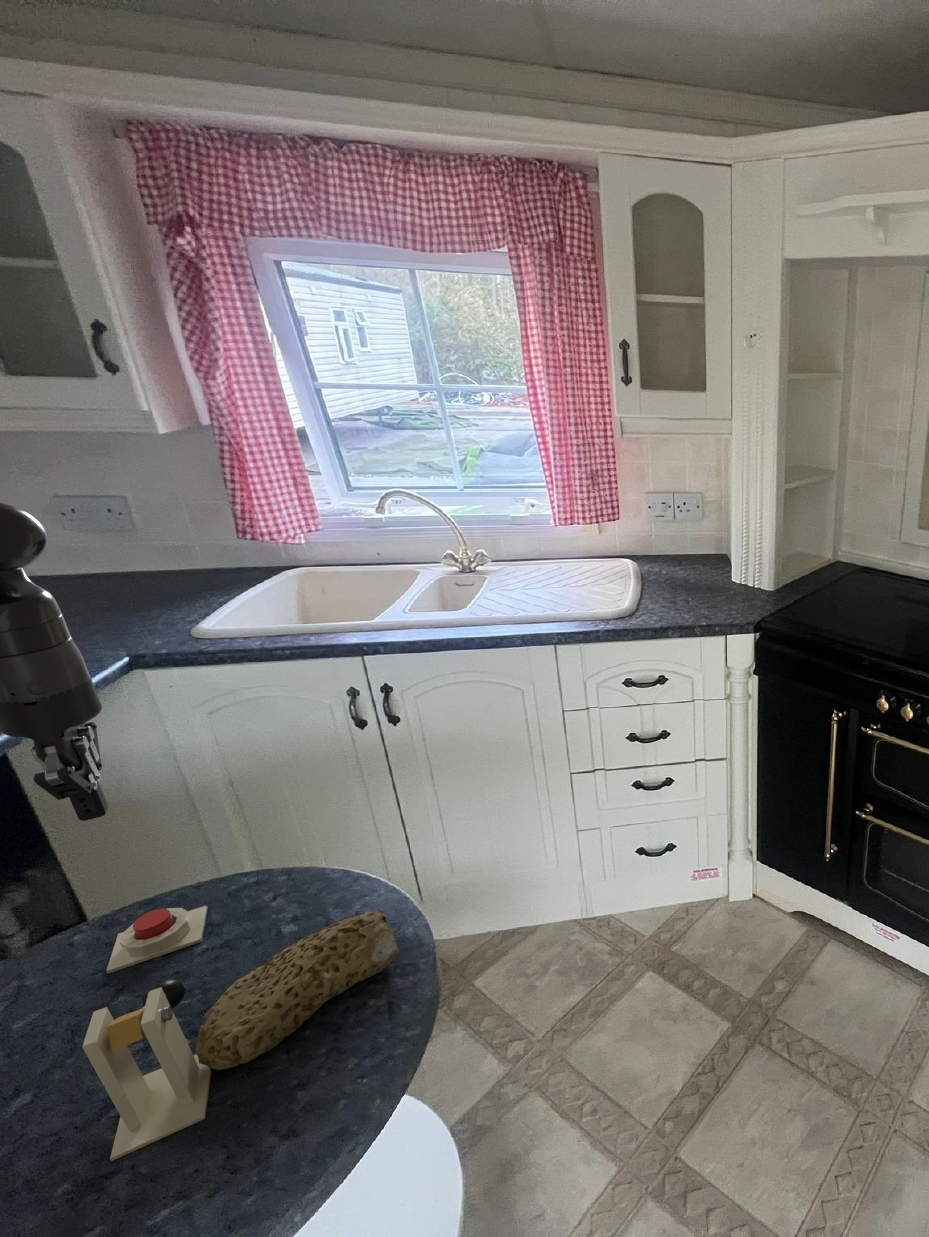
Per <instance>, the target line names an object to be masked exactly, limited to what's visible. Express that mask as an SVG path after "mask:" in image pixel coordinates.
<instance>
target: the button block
mask: <svg viewBox="0 0 929 1237" xmlns="http://www.w3.org/2000/svg"><path fill="white" fill-rule="evenodd" d="M208 908H209V907H208V905H203V906H200V907H198V908H193V909H191V910H186V909H184V908H183V907H173V908H170V907H169V908H167V909H168V910H169V911H170V913H171V915H172V917H173V920H174V924H173V926H172V927H171V928H170V929H169V930H167V931H165V932H164V933H162V934H160V935H158V936H155V937H152V938H149V939H146V940H141V939H138V938H137V936H136V934H135V931H134V929H133V924H134V922H133V923H132V924H131V925H130V926H129V927H128V928H126V930H125V931H122V932H119V933H117V935H116V936H117V937H116V939H115V942H114V946H113V949H112V952H111V954H110V958H109V961H108V964H107V967H106V970H105V971H106V974H107V975H108V974H112V973H114V972H117V971H121V970H123V969H126V968H128V967H132V966H135V965H138V964H140V963H143V962H146V961H149V960H152V959H156V958H158V957H160V956H164V955H167V954H169V953H172V952H176V951H178V950H181V949H185V948H187V947H191V946H193V945H196V944H198V943H201V942H202V941H203V936H204V931H205V926H206V920H207V914H208Z"/></svg>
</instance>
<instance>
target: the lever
mask: <svg viewBox="0 0 929 1237" xmlns="http://www.w3.org/2000/svg"><path fill="white" fill-rule="evenodd" d="M160 987H162V989H163V991H164V994H165V996H166V998H167V1000H168V1002H169V1004H170V1006H171V1008H172V1010H173V1009H175V1008H176V1007H177V1006H178V1005H179V1004H181V1002H182V1000H183V999H184V997H185V995H186V994H185V993H186V988H185V985H184V983H182V982H181V981H179V980H178V979H177V980H176V979H166V980H162V981H159V982H157V983H155V984H154V985H153V986H151V987H150V988H149V989H147V991H146V993H145V994H144V997H143V999H142V1006H143V1007H141V1008H140V1009H136V1010H134V1011H132V1012H128V1013H126V1014H124V1015H121V1016H118V1017H117V1018H115V1019H114V1021H113V1022H112V1023H111V1024H110V1025H108V1026H107V1029H108V1034H109V1039H110V1044H111V1049H112V1050H115V1049H118V1048H120V1047H123V1046H125V1045H127V1046H128V1045H130V1044H133V1043H136V1042H138V1041H141V1040H142V1039H144V1038H145V1037H146V1035H145V1033H144V1031H143V1029H142V1027H141V1021H142V1017H143V1013H144V1009H145V1005H146V1001H147V997H148V993H149V991H152V990H155V989H158V988H160Z"/></svg>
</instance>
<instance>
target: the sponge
mask: <svg viewBox="0 0 929 1237" xmlns="http://www.w3.org/2000/svg"><path fill="white" fill-rule="evenodd" d="M387 922H388V921H387V915H386V912H385V911H383V910H381V909H376V910H370V911H366V912H363V913H361V914H359V915H354V916H351V917H347V918H343V919H342V920H339V921H337V922H335V923H332V924H331V925H329V926H325V927H323V928H321V929H320V930H318V931H316V932H314V933H312V934H310V935H307V936H306V937H304V938H301V939H299V940H298V941H296V942H294V943H292V944H291V945H290V946H288V947H286V948H284V949H282V950H280V951H279V952H277V953H276V954H274V955H273V956H271V958H270V959H269V960H268V961H266V962H264V963H263V964H261V965H260V966H257V968H255V969H254V970H251V971H250V972H249V973H248V974H246V975H245V976H243V977H240V978H239V979H237V980H236V981H235V982H233V984H231V985H229V987H227V989H226V991H225V992H224V993H223V994H222V995H220V997H219V998H218V999H217V1001H216V1002H214V1003H213V1004H212V1006H211V1007H210V1008H209V1009H208V1010H207V1012H206V1013H205V1014H204V1015H203V1017H204V1024H203V1025H200V1027H199V1031H198V1034H197V1042H196V1045H195V1048H194V1053H195V1054H197V1055H198V1059H199V1063H200V1064H204V1065H206V1066H208V1067H209V1068H212V1070H217V1071H221V1070H222V1071H223V1070H226V1069H231V1068H236V1067H237V1066H239V1065H243V1064H247V1063H250V1062H251V1061H253V1060H255V1059H256V1058H258V1057H259V1056H261V1055H263V1054H265V1053H267V1052H269V1051H271V1050H272V1049H274V1048H275V1047H276V1046H278V1045H279V1044H280V1043H281V1042H283V1041H284V1039H285V1038H287V1037H289V1036H291V1035H292V1033H294V1032H296V1030H297V1029H299V1028H301V1026H302V1025H303V1024H304V1023H305V1021H306V1020H309V1019H310V1018H311V1017H312V1016H314V1014H315V1013H316V1012H317V1011H318V1010H319V1009H320V1008H321V1007H322V1006H323V1005H324V1004H325V1003H327V1002H328V1001H329V1000H330V999H332V998H335V997H336V996H338V995H341V994H342V993H343V992H346V990H348V989H350V988H351V987H352V986H354V985H356V984H357V983H359V982H364V981H366V980H367V979H369V978H370V977H373V976H374V975H377V974H379V973H381V972H383V971H384V970H385V969H386V968H387V967H388V966H390V965H391V964H393V963H394V961H395V960H396V958H397V957H398V956H399V954H400V952H401V950H400V948H399V947H398V945H397V942H396V936H395V932H394V931H393V929H392V927H390V926H389V925H388V923H387Z"/></svg>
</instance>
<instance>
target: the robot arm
mask: <svg viewBox="0 0 929 1237" xmlns="http://www.w3.org/2000/svg"><path fill="white" fill-rule="evenodd" d="M48 542H49V538H48V534H47V531H46V529H45V527H44V526H43V525H42V523H41V522H40V521H39V520H38V519H37V518H35V517H34V516H33V515H32V514H30V513H29V512H27V511H25V510H24V509H21V508H19V507H17V506H14V505H12V504H11V505H10V504H9V503H8V504H7V503H4V502H0V732H1V733H2V734H3V735H5V736H7V737H11V738H26V739H30V740H32V741H33V745H32V746H31V747H30V752H31V755H32V757H33V759H34V761H35V762H36V763H39V764H40V766H41V767H42V770H43V771H42V772H37V773H34V775H33V781H34V783H35V785H36V786H38V787H39V788H41V789H43V790H44V791H45V792H47V793H48V794H50V796H52V797H54V798H55V799H56V800H58V801H60V800H66V799H67V798H69V800H70V803H71V806H72V807H73V809H74V812H75V814H76V817H77V818H78V820H79V821H81V822H85V821H89V820H90V821H91V820H94V819H98V818H101V817H104V816H105V815H106V813H107V812H108V809H109V803H108V802H107V799H106V796H105V794H104V791H103V790H102V786H101V785H100V782H101V779H102V777H101V774H100V773H99V771H102V769H103V763H102V758H101V751H100V744H99V737H98V729H97V728H98V726H97V724H96V723H95V721H92V720H93V719H94V718H96V717H97V716H98V715H100V713H101V711H102V710H103V705H102V702H101V700H100V697H99V695H98V691H97V690H96V687H95V684H94V682H93V680H92V677H91V675H90V672H89V670H88V667H87V664H86V662H85V659H84V657H83V654H82V653H81V651H80V649H79V648H78V646H77V644H76V643H75V642H74V639H73V638H72V636H71V632H70V630H69V627H68V625H67V623H66V620H65V618H64V614H63V613H62V610H61V608H60V606H59V604H58V602H57V600H56V599H55V597H54V596H53V594H52V593H51V592H50V591H49V590H46V589H44V588H43V587H41V586H39V585H38V584H35V583H34V582H33V581H32V580H31V579H30V578H29V576H28V575H27V573H26V571H25V570H24V568H26V567H28V566H30V565H33V564H34V563H35V562H37V561H38V560H39V559H40V558H41V557H42V556H43V555H44V553H45V552H46V551H47V548H48ZM89 721H91V722H89Z"/></svg>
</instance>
